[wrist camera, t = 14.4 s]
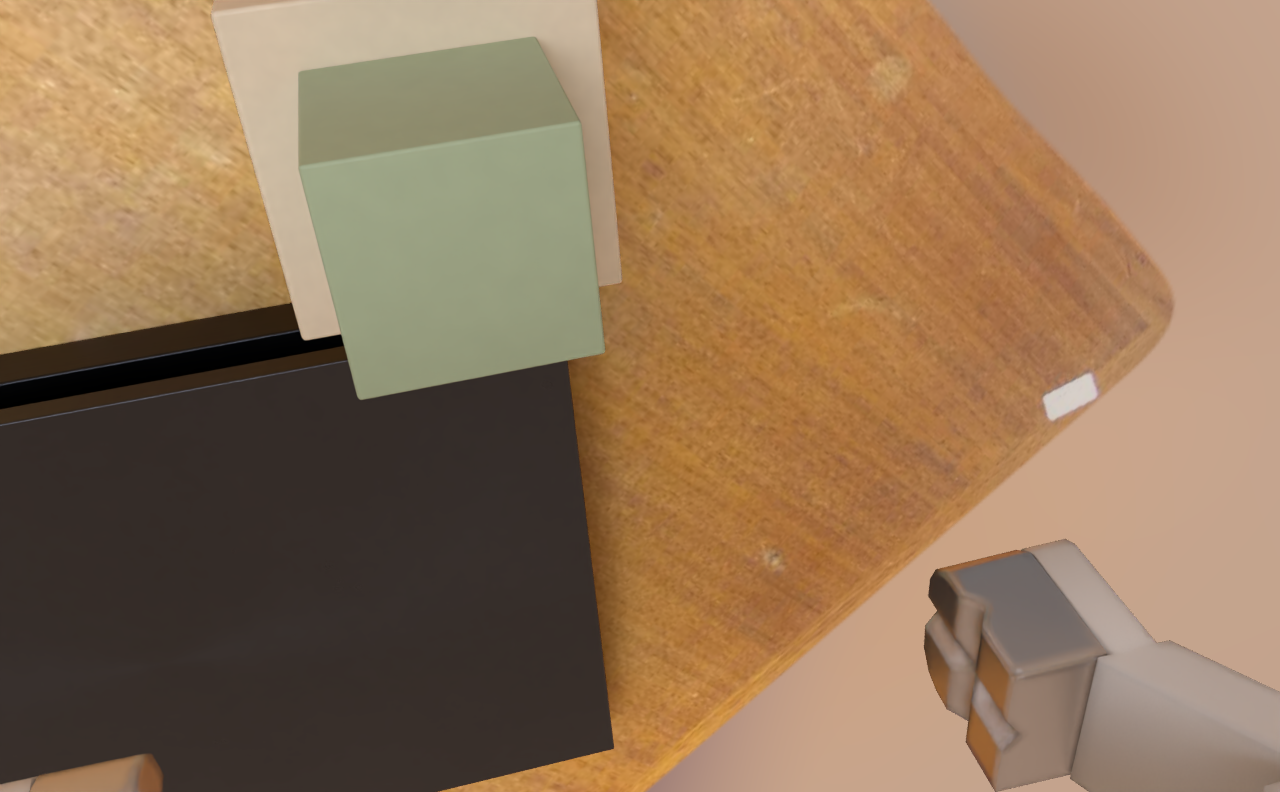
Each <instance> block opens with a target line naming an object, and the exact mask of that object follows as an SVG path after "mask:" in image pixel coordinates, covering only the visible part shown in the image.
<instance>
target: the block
mask: <svg viewBox="0 0 1280 792" xmlns="http://www.w3.org/2000/svg"><path fill="white" fill-rule="evenodd" d="M298 170H299V174H300V177H301V181H302V185H303V189H304V193H305V197H306V201H307V204H308V208H309V212H310V216H311V220H312V224H313V228H314V231H315V235H316V239H317V243H318V247H319V251H320V254H321V258H322V262H323V266H324V270H325V274H326V278H327V281H328V285H329V289H330V293H331V297H332V301H333V305H334V308H335V312H336V316H337V320H338V324H339V328H340V332H341V335H342V339H343V343H344V347H345V351H346V355H347V359H348V362H349V366H350V370H351V374H352V378H353V382H354V386H355V389H356V393H357V397H358V398H359V399H360V400H364V399H369V398H375V397H380V396H385V395H390V394H395V393H401V392H406V391H411V390H416V389H422V388H427V387H432V386H437V385H442V384H448V383H453V382H458V381H463V380H469V379H474V378H479V377H484V376H489V375H495V374H500V373H505V372H510V371H516V370H521V369H526V368H531V367H536V366H542V365H547V364H552V363H557V362H563V361H568V360H573V359H578V358H583V357H589V356H594V355H599V354H603V353H605V341H604V332H603V322H602V313H601V303H600V294H599V284H598V275H597V265H596V256H595V246H594V237H593V227H592V218H591V208H590V199H589V189H588V180H587V170H586V161H585V151H584V142H583V132H582V123H581V122H580V120H579V118H578V116H577V114H576V112H575V110H574V108H573V106H572V105H571V103H570V101H569V99H568V97H567V95H566V93H565V91H564V89H563V87H562V86H561V84H560V82H559V80H558V78H557V76H556V74H555V72H554V70H553V69H552V67H551V65H550V63H549V61H548V59H547V57H546V55H545V53H544V51H543V50H542V48H541V46H540V44H539V42H538V40H537V38H536V37H527V38H521V39H514V40H507V41H500V42H494V43H487V44H480V45H474V46H467V47H460V48H453V49H447V50H440V51H433V52H426V53H420V54H413V55H406V56H399V57H393V58H386V59H379V60H373V61H366V62H359V63H352V64H346V65H339V66H332V67H325V68H319V69H312V70H305V71H300V72H299V74H298Z"/></svg>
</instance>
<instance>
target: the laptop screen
mask: <svg viewBox="0 0 1280 792" xmlns="http://www.w3.org/2000/svg"><path fill="white" fill-rule="evenodd" d="M611 749H614V743H613V735H612V726H611V718H610V710H609V701H608V693H607V685H606V676H605V668H604V660H603V652H602V643H601V635H600V627H599V618H598V610H597V602H596V593H595V585H594V577H593V568H592V560H591V552H590V543H589V535H588V527H587V519H586V510H585V502H584V494H583V485H582V477H581V469H580V460H579V452H578V444H577V435H576V427H575V419H574V410H573V402H572V394H571V386H570V377H569V369H568V361H563V362H557V363H552V364H547V365H542V366H536V367H531V368H526V369H521V370H516V371H510V372H505V373H500V374H495V375H489V376H484V377H479V378H474V379H469V380H463V381H458V382H453V383H448V384H442V385H437V386H432V387H427V388H422V389H416V390H411V391H406V392H401V393H395V394H390V395H385V396H380V397H375V398H369V399H364V400H360V399H359V398H358V397H357V393H356V389H355V386H354V382H353V378H352V374H351V370H350V366H349V362H348V359H347V355H346V351H345V347H344V346H342V347H336V348H331V349H326V350H320V351H315V352H309V353H304V354H298V355H293V356H288V357H282V358H277V359H271V360H266V361H260V362H255V363H250V364H244V365H239V366H233V367H228V368H222V369H217V370H212V371H206V372H201V373H195V374H190V375H184V376H179V377H174V378H168V379H163V380H157V381H152V382H146V383H141V384H136V385H130V386H125V387H119V388H114V389H108V390H103V391H98V392H92V393H87V394H81V395H76V396H70V397H65V398H60V399H54V400H49V401H43V402H38V403H33V404H27V405H22V406H16V407H11V408H5V409H0V784H4V783H8V782H13V781H18V780H22V779H27V778H32V777H37V776H39V775H43V774H48V773H53V772H58V771H63V770H67V769H72V768H77V767H82V766H87V765H92V764H97V763H101V762H106V761H111V760H116V759H121V758H126V757H130V756H135V755H140V754H153V756H154V758H155V760H156V762H157V763H158V765H159V767H160V769H161V771H162V773H163V774H164V778H163V788H162V792H438V791H442V790H447V789H451V788H455V787H459V786H463V785H467V784H471V783H475V782H479V781H483V780H488V779H492V778H496V777H500V776H504V775H508V774H512V773H516V772H520V771H525V770H529V769H533V768H537V767H541V766H545V765H549V764H553V763H557V762H561V761H566V760H570V759H574V758H578V757H582V756H586V755H590V754H594V753H598V752H602V751H607V750H611Z"/></svg>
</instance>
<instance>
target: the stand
mask: <svg viewBox="0 0 1280 792" xmlns="http://www.w3.org/2000/svg"><path fill="white" fill-rule="evenodd" d="M211 19H212V23H213V26H214V30H215V33H216V37H217V40H218V44H219V47H220V51H221V54H222V58H223V61H224V65H225V68H226V72H227V75H228V79H229V83H230V86H231V90H232V93H233V97H234V100H235V104H236V107H237V111H238V114H239V118H240V121H241V125H242V128H243V132H244V135H245V139H246V143H247V146H248V150H249V153H250V157H251V160H252V164H253V167H254V171H255V174H256V178H257V181H258V185H259V188H260V192H261V196H262V199H263V203H264V206H265V210H266V213H267V217H268V220H269V224H270V227H271V231H272V234H273V238H274V241H275V245H276V248H277V252H278V256H279V259H280V263H281V266H282V270H283V273H284V277H285V280H286V284H287V287H288V291H289V294H290V298H291V301H292V305H293V309H294V312H295V316H296V319H297V323H298V326H299V330H300V333H301V337H302V338H303V339H304V340H312V339H317V338H323V337H328V336H334V335H339V334H341V332H340V328H339V324H338V320H337V316H336V312H335V308H334V305H333V301H332V297H331V293H330V289H329V285H328V281H327V278H326V274H325V270H324V266H323V262H322V258H321V254H320V251H319V247H318V243H317V239H316V235H315V231H314V228H313V224H312V220H311V216H310V212H309V208H308V204H307V201H306V197H305V193H304V189H303V185H302V181H301V177H300V174H299V170H298V74H299V72H300V71H305V70H312V69H319V68H325V67H332V66H339V65H346V64H352V63H359V62H366V61H373V60H379V59H386V58H393V57H399V56H406V55H413V54H420V53H426V52H433V51H440V50H447V49H453V48H460V47H467V46H474V45H480V44H487V43H494V42H500V41H507V40H514V39H521V38H527V37H536V38H537V40H538V42H539V44H540V46H541V48H542V50H543V51H544V53H545V55H546V57H547V59H548V61H549V63H550V65H551V67H552V69H553V70H554V72H555V74H556V76H557V78H558V80H559V82H560V84H561V86H562V87H563V89H564V91H565V93H566V95H567V97H568V99H569V101H570V103H571V105H572V106H573V108H574V110H575V112H576V114H577V116H578V118H579V120H580V122H581V123H582V132H583V142H584V151H585V161H586V170H587V180H588V189H589V199H590V208H591V218H592V227H593V237H594V246H595V256H596V265H597V275H598V284H599V287H602V286H607V285H613V284H618V283H621V281H622V269H621V259H620V248H619V237H618V226H617V215H616V204H615V193H614V182H613V171H612V160H611V149H610V138H609V127H608V116H607V105H606V94H605V83H604V72H603V61H602V50H601V39H600V28H599V18H598V7H597V0H214V1H213V6H212V11H211Z"/></svg>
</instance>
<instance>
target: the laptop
mask: <svg viewBox="0 0 1280 792" xmlns="http://www.w3.org/2000/svg"><path fill="white" fill-rule="evenodd" d="M342 346H344V343H343V339H342V335H341V334H339V335H334V336H328V337H323V338H317V339H312V340H304V339H303V338H302V337H301V333H300V330H299V326H298V323H297V319H296V316H295V312H294V309H293V305H292V303H291V304H285V305H280V306H274V307H268V308H263V309H257V310H251V311H246V312H240V313H235V314H229V315H223V316H218V317H212V318H206V319H201V320H195V321H190V322H184V323H178V324H173V325H167V326H161V327H156V328H150V329H144V330H139V331H133V332H128V333H122V334H116V335H111V336H105V337H99V338H94V339H88V340H83V341H77V342H71V343H66V344H60V345H54V346H49V347H43V348H38V349H32V350H26V351H21V352H15V353H9V354H4V355H0V409H5V408H11V407H16V406H22V405H27V404H33V403H38V402H43V401H49V400H54V399H60V398H65V397H70V396H76V395H81V394H87V393H92V392H98V391H103V390H108V389H114V388H119V387H125V386H130V385H136V384H141V383H146V382H152V381H157V380H163V379H168V378H174V377H179V376H184V375H190V374H195V373H201V372H206V371H212V370H217V369H222V368H228V367H233V366H239V365H244V364H250V363H255V362H260V361H266V360H271V359H277V358H282V357H288V356H293V355H298V354H304V353H309V352H315V351H320V350H326V349H331V348H336V347H342Z"/></svg>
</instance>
